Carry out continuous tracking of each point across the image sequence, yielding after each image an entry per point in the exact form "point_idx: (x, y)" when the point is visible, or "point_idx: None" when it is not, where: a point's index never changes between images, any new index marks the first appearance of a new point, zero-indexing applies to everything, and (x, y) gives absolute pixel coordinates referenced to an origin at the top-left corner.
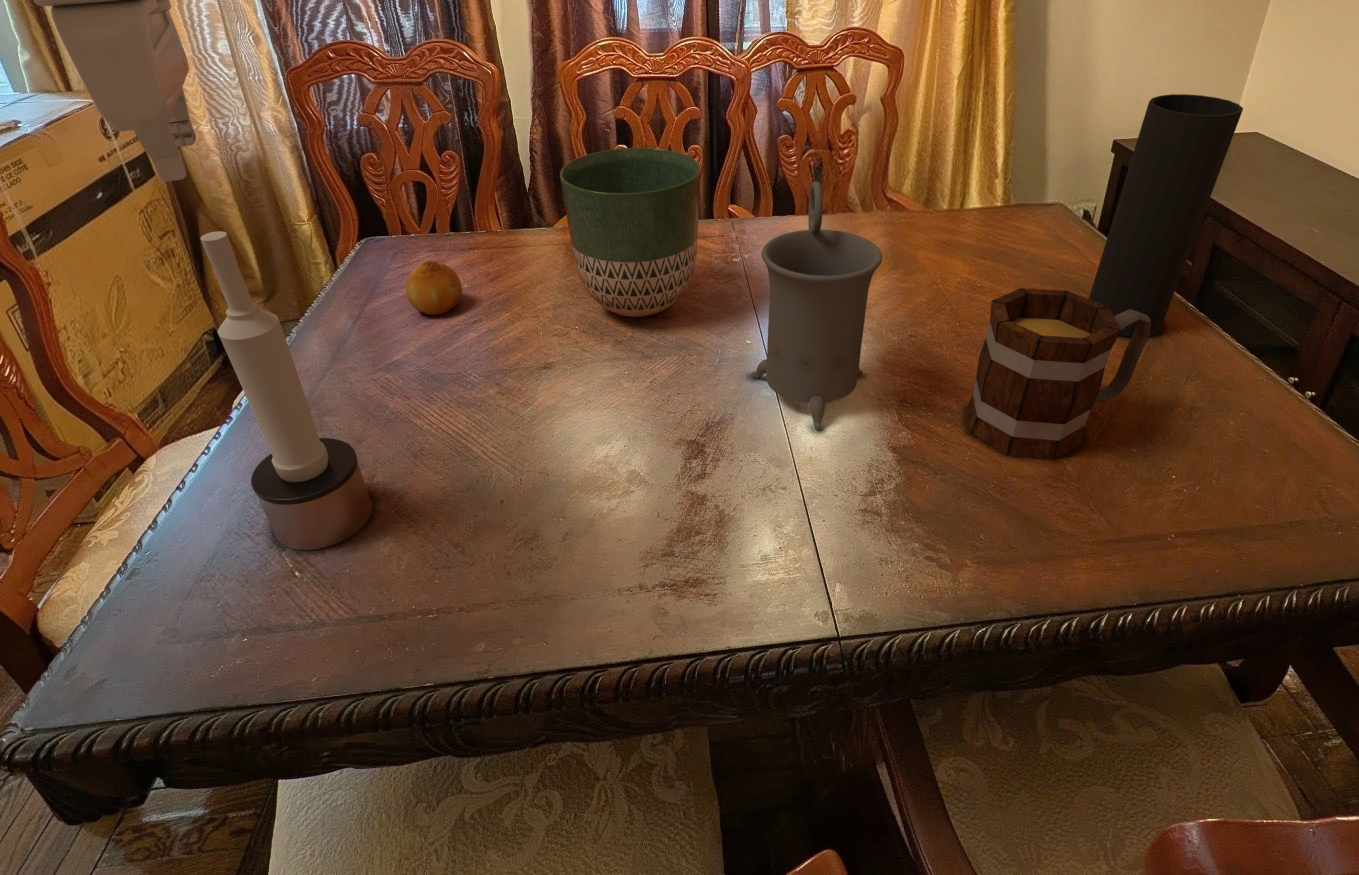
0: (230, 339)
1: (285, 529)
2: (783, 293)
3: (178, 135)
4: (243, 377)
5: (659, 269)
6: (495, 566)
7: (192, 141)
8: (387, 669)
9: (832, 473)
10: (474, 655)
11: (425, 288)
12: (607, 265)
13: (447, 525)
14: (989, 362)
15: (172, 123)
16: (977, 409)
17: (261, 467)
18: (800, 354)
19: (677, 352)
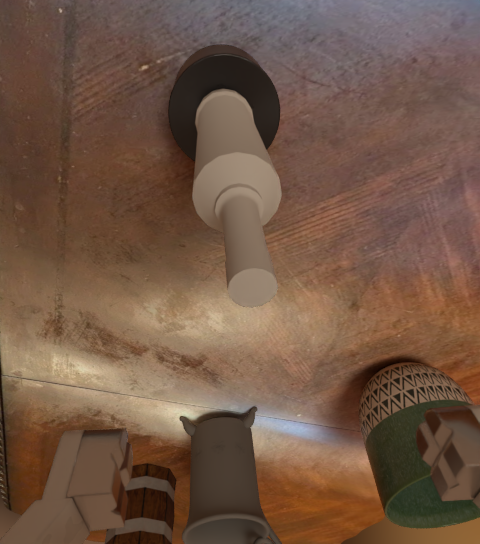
0: (199, 172)
1: (181, 70)
2: (214, 497)
3: (442, 446)
4: (203, 144)
5: (363, 430)
6: (105, 229)
7: (419, 444)
8: (4, 139)
9: (137, 410)
10: (11, 202)
11: None
12: (390, 409)
13: (167, 203)
14: (143, 514)
15: (478, 477)
16: (149, 479)
17: (245, 67)
18: (200, 458)
19: (313, 381)
